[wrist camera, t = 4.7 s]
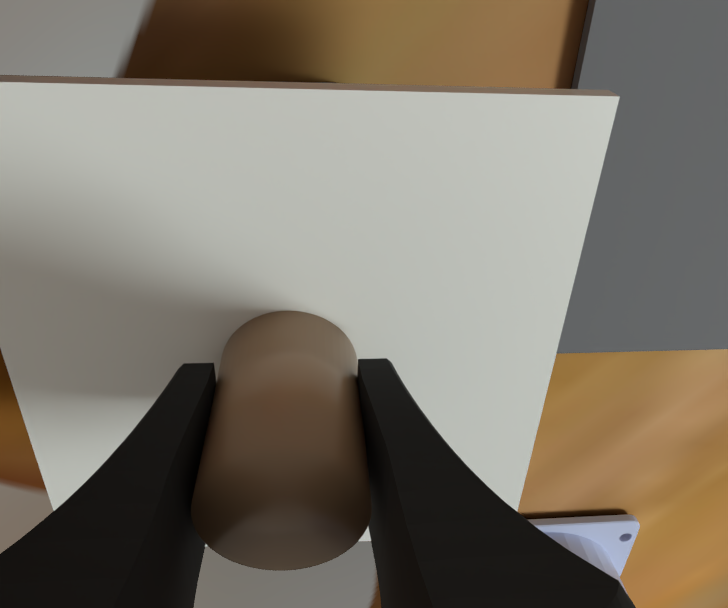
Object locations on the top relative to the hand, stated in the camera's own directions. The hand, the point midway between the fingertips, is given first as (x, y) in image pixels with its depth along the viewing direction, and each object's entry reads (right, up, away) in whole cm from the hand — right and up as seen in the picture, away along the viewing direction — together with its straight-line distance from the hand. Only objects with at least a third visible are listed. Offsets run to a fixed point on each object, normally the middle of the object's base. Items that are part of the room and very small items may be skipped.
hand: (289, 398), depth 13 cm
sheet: (0, +1, +1) cm, 1 cm away
